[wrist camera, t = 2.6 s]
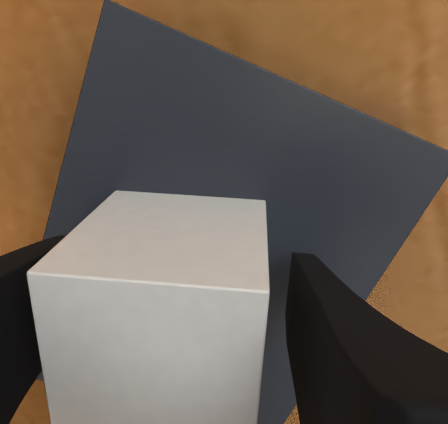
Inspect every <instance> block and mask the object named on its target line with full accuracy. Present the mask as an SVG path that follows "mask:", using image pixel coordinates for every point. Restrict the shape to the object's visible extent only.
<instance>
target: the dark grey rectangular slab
mask: <svg viewBox="0 0 448 424" xmlns="http://www.w3.org/2000/svg"><path fill="white" fill-rule="evenodd" d="M447 177H448V150H446V149H444V148H441V147H439V146H437V145H435V144H432V143H430V142H428V141H426V140H423V139H421V138H419V137H417V136H414V135H412V134H410V133H408V132H405V131H403V130H401V129H398V128H396V127H394V126H392V125H389V124H387V123H385V122H383V121H380V120H378V119H376V118H374V117H371V116H369V115H367V114H365V113H362V112H360V111H358V110H356V109H353V108H351V107H349V106H347V105H344V104H342V103H340V102H338V101H335V100H333V99H331V98H329V97H326V96H324V95H322V94H320V93H317V92H315V91H313V90H311V89H308V88H306V87H304V86H302V85H299V84H297V83H295V82H293V81H290V80H288V79H286V78H284V77H281V76H279V75H277V74H275V73H272V72H270V71H268V70H266V69H263V68H261V67H259V66H256V65H254V64H252V63H250V62H247V61H245V60H243V59H241V58H238V57H236V56H234V55H232V54H229V53H227V52H225V51H223V50H220V49H218V48H216V47H214V46H211V45H209V44H207V43H205V42H202V41H200V40H198V39H196V38H193V37H191V36H189V35H187V34H184V33H182V32H180V31H178V30H175V29H173V28H171V27H169V26H166V25H164V24H162V23H160V22H157V21H155V20H153V19H151V18H148V17H146V16H144V15H142V14H139V13H137V12H135V11H133V10H130V9H128V8H126V7H124V6H121V5H119V4H117V3H115V2H112V1H110V0H104V3H103V7H102V11H101V15H100V19H99V22H98V26H97V30H96V34H95V38H94V42H93V46H92V50H91V54H90V58H89V62H88V65H87V69H86V73H85V77H84V81H83V85H82V89H81V93H80V97H79V101H78V105H77V109H76V112H75V116H74V120H73V124H72V128H71V132H70V136H69V140H68V144H67V148H66V152H65V155H64V159H63V163H62V167H61V171H60V175H59V179H58V183H57V187H56V191H55V195H54V199H53V202H52V206H51V210H50V214H49V218H48V222H47V226H46V230H45V234H44V238H43V240H45V239H48V238H52V237H55V236H60V235H64V236H67V235H68V234H69V233H70V232H71V231H72V230H73V229H74V228H75V227H76V226H78V225H79V224H80V223H81V222H82V221H83V220H84V219H85V218H86V217H87V216H88V215H89V214H91V213H92V212H93V211H94V210H95V209H96V208H97V207H98V206H99V205H100V204H101V203H103V202H104V201H105V200H106V199H107V198H108V197H109V196H110V195H111V194H112V193H113V192H115V191H116V190H118V191H133V192H148V193H163V194H179V195H194V196H209V197H224V198H239V199H254V200H265V201H266V219H267V242H268V264H269V287H270V296H269V306H268V316H267V327H266V337H265V347H264V357H263V368H262V378H261V388H260V399H259V409H258V419H257V424H284V422H285V421H286V419H287V418H288V416H289V415H290V413H291V412H292V410H293V409H294V407H295V406H296V404H297V402H296V396H295V390H294V385H293V379H292V373H291V368H290V362H289V356H288V350H287V344H286V324H285V309H286V301H287V292H288V283H289V275H290V266H291V258H292V252H295V253H308V254H315V255H316V256H317V257H318V258H319V259H320V260H321V261H322V262H323V263H324V264H325V265H326V266H327V267H328V268H329V269H330V270H331V271H332V272H333V273H334V274H335V275H336V276H337V277H338V278H339V279H340V280H341V281H342V282H343V283H345V284H346V285H347V286H348V287H349V288H350V289H351V290H352V291H353V292H355V293H356V294H357V295H358V296H359V297H361V298H362V299H363V300H364V301H365V300H366V299H367V297H368V296H369V294H370V293H371V291H372V290H373V288H374V287H375V285H376V284H377V282H378V281H379V279H380V278H381V276H382V275H383V273H384V272H385V270H386V269H387V267H388V266H389V264H390V263H391V261H392V260H393V258H394V257H395V255H396V254H397V252H398V251H399V249H400V248H401V246H402V245H403V243H404V242H405V240H406V238H407V237H408V235H409V234H410V232H411V231H412V229H413V228H414V226H415V225H416V223H417V222H418V220H419V219H420V217H421V216H422V214H423V213H424V211H425V210H426V208H427V207H428V205H429V204H430V202H431V201H432V199H433V198H434V196H435V195H436V193H437V192H438V190H439V189H440V187H441V186H442V184H443V183H444V181H445V180H446V178H447ZM36 379H38V380H41V381H44V378H43V372H42V371H41V373H40V374H39V375H38V377H37V378H36Z"/></svg>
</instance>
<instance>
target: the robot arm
mask: <svg viewBox="0 0 448 424" xmlns="http://www.w3.org/2000/svg"><path fill="white" fill-rule="evenodd" d="M64 237H66V236H64V235H60V236H55V237H52V238H48V239H45V240H42V241H39V242H37V243H34V244H31V245H29V246H26V247H23V248H21V249H18V250H15V251H13V252H10V253H8V254H5V255H2V256H0V424H9V423H10V421H11V419H12V418H13V416H14V414H15V412H16V410H17V408H18V407H19V405H20V403H21V401H22V400H23V398H24V397H25V395H26V393H27V392H28V390H29V389H30V387H31V386H32V384H33V383H34V381H35V380H36V378H37V377H38V375H39V374H40V373H41V371H42V366H41V360H40V354H39V348H38V342H37V336H36V329H35V323H34V317H33V311H32V305H31V299H30V293H29V287H28V281H27V275H26V274H27V271H29V270H30V269H31V268H32V267H33V266H34V265H35V264H36V263H37V262H38V261H39V260H40V259H42V258H43V257H44V256H45V255H46V254H47V253H48V252H49V251H50V250H51V249H52V248H54V247H55V246H56V245H57V244H58V243H59V242H60V241H61V240H62V239H63V238H64ZM285 324H286V344H287V350H288V356H289V362H290V368H291V373H292V379H293V385H294V390H295V396H296V402H297V407H298V413H299V421H300V424H448V353H446V352H444V351H442V350H440V349H439V348H437V347H435V346H433V345H431V344H430V343H428V342H426V341H424V340H422V339H420V338H419V337H417V336H415V335H413V334H412V333H410V332H408V331H407V330H405V329H404V328H402V327H400V326H399V325H397V324H396V323H394V322H393V321H391V320H390V319H388V318H387V317H386V316H384V315H383V314H381V313H380V312H378V311H377V310H376V309H374V308H373V307H372V306H371V305H369V304H368V303H367V302H366V301H364V300H363V299H362V298H361V297H359V296H358V295H357V294H356V293H355V292H353V291H352V290H351V289H350V288H349V287H348V286H347V285H346V284H345V283H343V282H342V281H341V280H340V279H339V278H338V277H337V276H336V275H335V274H334V273H333V272H332V271H331V270H330V269H329V268H328V267H327V266H326V265H325V264H324V263H323V262H322V261H321V260H320V259H319V258H318V257H317V256H316V255H315V254H308V253H295V252H292V258H291V266H290V275H289V283H288V292H287V301H286V309H285Z"/></svg>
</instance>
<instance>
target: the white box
mask: <svg viewBox="0 0 448 424" xmlns="http://www.w3.org/2000/svg"><path fill="white" fill-rule="evenodd" d="M26 275H27V281H28V287H29V293H30V299H31V305H32V311H33V317H34V323H35V329H36V336H37V342H38V348H39V354H40V360H41V366H42V372H43V378H44V384H45V390H46V396H47V403H48V409H49V415H50V421H51V424H257V419H258V409H259V399H260V388H261V378H262V368H263V357H264V347H265V337H266V327H267V316H268V306H269V296H270V287H269V264H268V242H267V219H266V201H265V200H254V199H239V198H224V197H209V196H194V195H179V194H163V193H148V192H133V191H118V190H116V191H115V192H113V193H112V194H111V195H110V196H109V197H108V198H107V199H106V200H105V201H104V202H103V203H101V204H100V205H99V206H98V207H97V208H96V209H95V210H94V211H93V212H92V213H91V214H89V215H88V216H87V217H86V218H85V219H84V220H83V221H82V222H81V223H80V224H79V225H78V226H76V227H75V228H74V229H73V230H72V231H71V232H70V233H69V234H68V235H67V236H66V237H64V238H63V239H62V240H61V241H60V242H59V243H58V244H57V245H56V246H55V247H54V248H52V249H51V250H50V251H49V252H48V253H47V254H46V255H45V256H44V257H43V258H42V259H40V260H39V261H38V262H37V263H36V264H35V265H34V266H33V267H32V268H31V269H30V270H29V271H27V274H26Z"/></svg>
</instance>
